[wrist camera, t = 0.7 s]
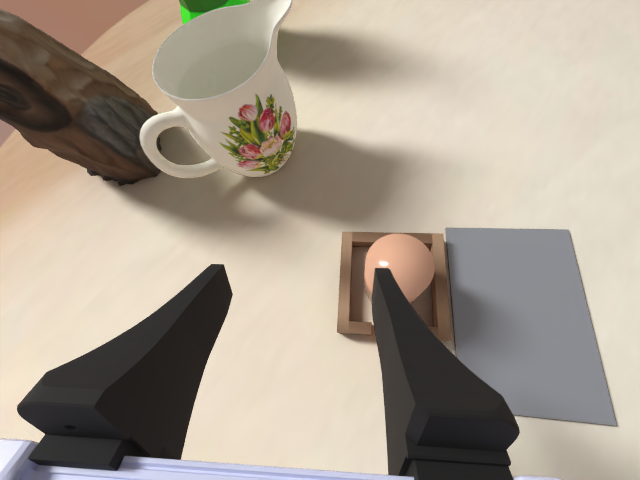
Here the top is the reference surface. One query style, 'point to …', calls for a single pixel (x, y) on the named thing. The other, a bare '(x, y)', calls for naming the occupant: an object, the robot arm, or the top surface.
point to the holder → (438, 282)
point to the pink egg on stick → (400, 264)
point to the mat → (527, 322)
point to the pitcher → (226, 91)
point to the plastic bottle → (204, 7)
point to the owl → (71, 104)
